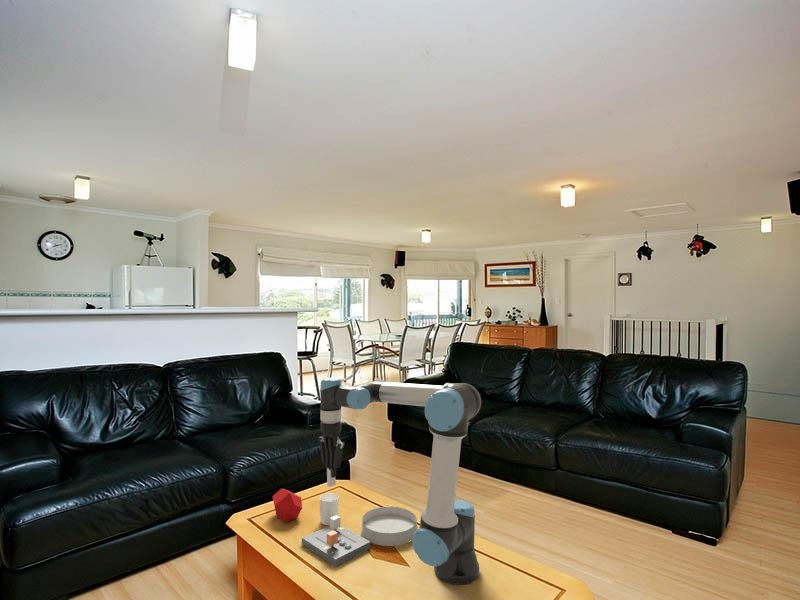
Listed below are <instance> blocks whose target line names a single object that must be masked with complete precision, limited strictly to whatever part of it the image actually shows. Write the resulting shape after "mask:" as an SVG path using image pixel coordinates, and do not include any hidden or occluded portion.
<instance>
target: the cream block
mask: <svg viewBox="0 0 800 600" xmlns="http://www.w3.org/2000/svg"><path fill="white" fill-rule="evenodd" d="M340 525H341V516H337V515H336V516H333V517H331V518H330V525H329V526H330V528H332V529H334V530H335V531H336V528H338V527H340Z"/></svg>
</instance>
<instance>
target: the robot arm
mask: <svg viewBox="0 0 800 600" xmlns="http://www.w3.org/2000/svg"><path fill="white" fill-rule="evenodd" d="M319 391H320V393H319V394H320V396H319V397H320V413H319V414H320V416H319V417H320V421H321V422H320V432H321V434H322V435H321V436H319V437H317V440H318V443H319V450H320V456H321V463H322V465H325V468H326V478H327V479H326V486H327V487H329V488H331V487H334V486H336V483H337V482H336V477H337V468H341V465H342V463H341V462H342V459H343V451H344V447H345V445H346V444H345V442H344V441H343V442H342V441H341V435H340V433H341V431H342V421H341V420H342V408H347V409H352V410H364V409H366V408H367V406H369V404H372V403H387V404H395V405H396V404H397V405H406V406H417V407H424V416H425V419H426V420H427V421H428V422H427V424H428V425H429V428H428V429H429V432H430V433H431V434H432V435H433V439H432V440H433V441H432V449H431V459H430V469H429V479H428V480H429V481H428V490H427V500H426V508H424V509H423V510H422V511H421V514H420V522H419V528H417V531H416V532H415V533H414V535H413V538H412V540H411V542H412V547H413V551H414V552H415V554H416V555H417V558H419V560H420V561H421V562H423V563H424V564H425V565H428V566H429V567H433V571H434V574H435V575H436V577H437V578H439V579H440V580H442V581H443V582H445V583H448V584H452V585H467V584H471V583H473V582H475V581H476V580H477V579H478V578H479V577H480V564H479V561H478V558H477V554H476V551H475V530H476V529H475V521H476V520H475V517H476V515H475V507H474V505H472V503H470V502H468V501H466V500H462V499H456V496H457V486H458V476H459V475H458V474H459V467H460V466H459V465H460V457H461V456H460V455H461V445H462V440H463V438H465V437H466V436H467V435H468V429H469V428H468V426H469V420H471V419H473V418H474V417H475V416H476V415H477V414H479V411H480V409H481V406H482V398H481V394H480V393H479V391H478V390H477V388H476V387H474V386H473V385H471V384H469V383H466V382H460V383H458V382H457V383H455V382H454V383H452V382H451V383H450V382H446V383H445V384H444V385H438V384H437V385H436V384H435V385H434V384H420V383H406V382H405V383H404V382H389V381H385V380H384V379H376V380H375V379H373V381H368V382H364V383H361V384H355V385H352V386H351V385H345V384H343V383H342V380H341V378H338V377H326V378H322V379H321V381H320V389H319Z"/></svg>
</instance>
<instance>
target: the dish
mask: <svg viewBox="0 0 800 600" xmlns="http://www.w3.org/2000/svg"><path fill="white" fill-rule="evenodd" d="M360 528H361V536H362V537H363V538H364V539H366V540H368V541H370V544H373V545H378V546H382V547H383V546H384V547H395V546H401V545H405V544H408V543H410V542H411V541H412V538H413V535H414V533H415V532H416V531H417V530H418V529H419V528H418V517H417V516H416V514H415V513H414V512H412V511H411V510H408V509H406V508H404V507H399V506H382V507H381V506H380V507H376V508H373V509H370V510H368V511H367V512H365V513H364V514H363V515H362V517H361V527H360ZM410 540H411V541H410ZM409 541H410V542H409ZM407 542H408V543H407Z"/></svg>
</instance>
